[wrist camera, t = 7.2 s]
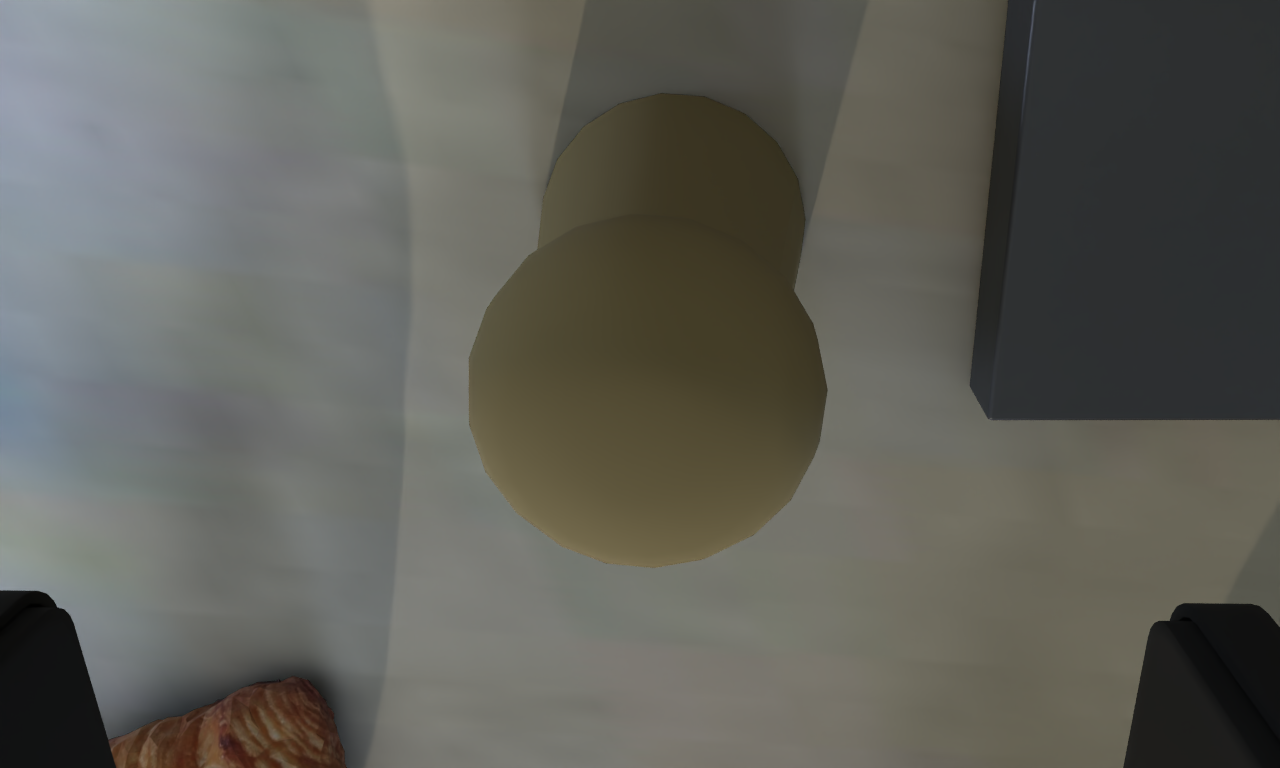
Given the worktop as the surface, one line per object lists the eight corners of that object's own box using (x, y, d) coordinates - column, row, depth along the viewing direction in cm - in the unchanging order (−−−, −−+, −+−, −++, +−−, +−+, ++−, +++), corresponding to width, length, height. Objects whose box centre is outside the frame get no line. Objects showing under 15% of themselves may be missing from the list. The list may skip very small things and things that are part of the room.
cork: (558, 358, 25) (450, 642, 15) (524, 104, 23) (369, 237, 13) (809, 343, 24) (872, 628, 14) (801, 81, 22) (871, 202, 12)
